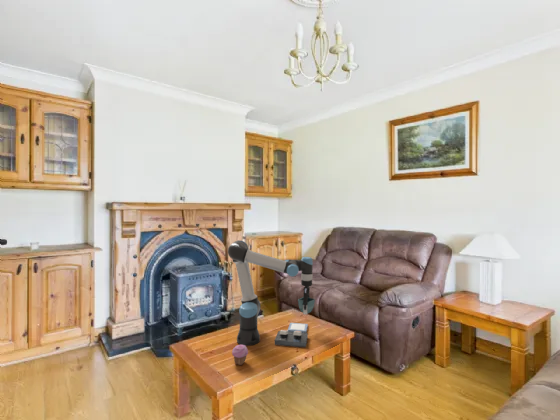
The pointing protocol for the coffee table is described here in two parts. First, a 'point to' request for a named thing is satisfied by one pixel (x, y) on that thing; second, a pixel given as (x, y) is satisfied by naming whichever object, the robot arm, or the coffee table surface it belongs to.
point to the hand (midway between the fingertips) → (306, 311)
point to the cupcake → (240, 354)
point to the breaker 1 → (284, 332)
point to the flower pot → (309, 304)
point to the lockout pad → (298, 327)
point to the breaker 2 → (298, 333)
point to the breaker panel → (291, 339)
